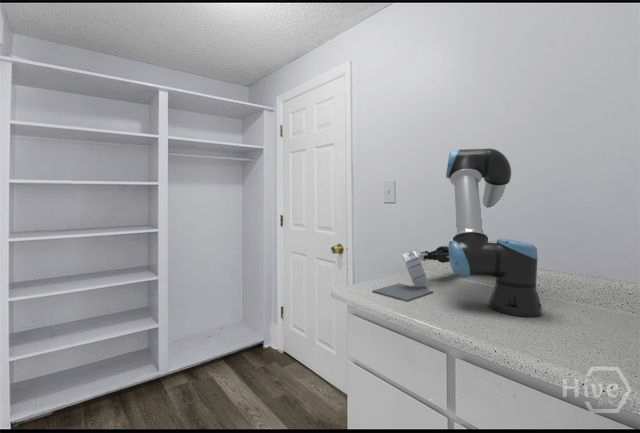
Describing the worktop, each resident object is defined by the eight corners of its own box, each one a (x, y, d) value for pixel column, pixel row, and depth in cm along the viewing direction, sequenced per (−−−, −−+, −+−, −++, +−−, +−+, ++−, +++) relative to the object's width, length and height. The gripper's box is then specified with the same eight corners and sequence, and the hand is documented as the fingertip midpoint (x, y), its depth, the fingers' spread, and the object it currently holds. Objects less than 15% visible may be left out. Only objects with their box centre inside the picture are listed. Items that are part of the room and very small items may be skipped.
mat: (399, 284, 140) (399, 283, 139) (433, 292, 128) (433, 291, 127) (372, 292, 128) (372, 290, 128) (407, 301, 116) (407, 300, 116)
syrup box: (429, 283, 133) (419, 255, 128) (415, 288, 133) (405, 261, 128) (424, 276, 138) (414, 249, 133) (411, 281, 139) (401, 254, 134)
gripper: (459, 263, 146) (431, 268, 131) (433, 260, 156) (404, 264, 141) (459, 247, 146) (432, 250, 131) (433, 244, 156) (405, 247, 140)
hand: (417, 257), depth 136 cm, fingers closed
